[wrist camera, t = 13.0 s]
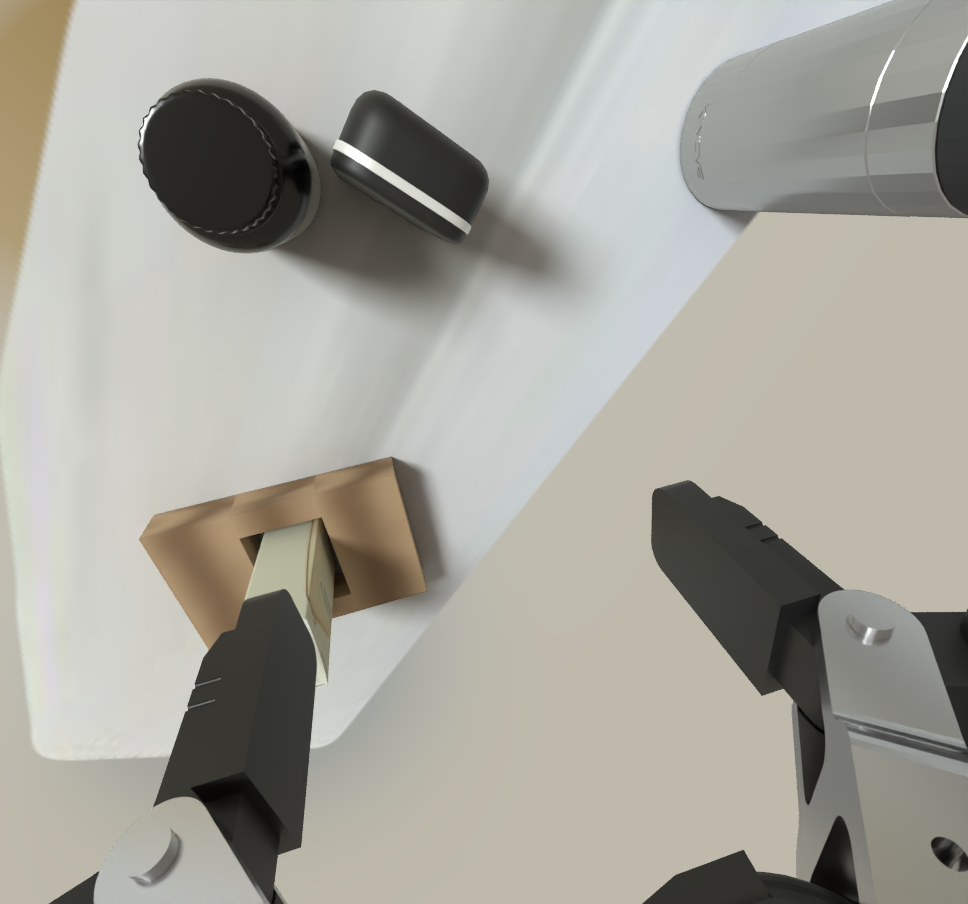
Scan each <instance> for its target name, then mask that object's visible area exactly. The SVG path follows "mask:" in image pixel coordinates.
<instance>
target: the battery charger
mask: <svg viewBox="0 0 968 904" xmlns="http://www.w3.org/2000/svg"><path fill="white" fill-rule="evenodd" d="M332 151H333V155H332V158H331V166H332V168H333V170H334V171H335V172H336V173H337V175H338V177H340V178H341V179H342V180H344V181H345V182H347V183H349V184H350V185H352V186H353V187H355V188H357V189H358V190H360V191H361V192H363V193H365V194H366V195H368V196H369V197H371V198H373V199H374V200H376V201H378V202H379V203H381V204H382V205H384V206H386V207H387V208H389V209H390V210H392V211H394V212H395V213H397V214H398V215H400V216H402V217H403V218H405V219H406V220H408V221H410V222H411V223H413V224H414V225H416V226H418V227H419V228H421V229H423V230H424V231H426V232H428V233H431V234H433V235H435V236H437V237H439V238H441V239H443V240H446V241H448V242H450V243H453V244H460V243H461V242H462V241H463V239H464V237H465V235H468V233H469V232H470V230H471V228H472V227H471V224H472V222H473V220H474V218H475V216H476V214H477V212H478V210H479V208H480V206H481V204H482V202H483V200H484V198H485V196H486V193H487V191H488V185H489V178H488V174H487V171H486V169H485V168H484V166H483V165H482V163H481V162H480V161H479V160H478V159H476V158H475V157H474V156H473V155H471V154H470V153H468V152H467V151H466V150H464V149H463V148H462V147H460V146H459V145H458V144H456V143H455V142H453V141H452V140H451V139H449V138H448V137H447V136H445V135H444V134H443V133H441V132H440V131H438V130H437V129H436V128H434V127H433V126H432V125H430V124H429V123H427V122H426V121H425V120H423V119H422V118H421V117H419V116H418V115H416V114H415V113H414V112H412V111H411V110H410V109H408V108H407V107H405V106H404V105H403V104H401V103H400V102H399V101H397V100H396V99H394V98H393V97H391V96H390V95H388V94H386V93H384V92H380V91H376V90H372V91H368V92H365V93H363V94H362V95H361V96H360V97H359V98H357V100H356V102H355V103H354V105H353V107H352V109H351V111H350V113H349V116H348V118H347V121H346V123H345V126H344V128H343V130H342V133H341V135H340V138H339V140H338V139H337V140H336V141H335V144H334V146H333V149H332Z"/></svg>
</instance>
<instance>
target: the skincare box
mask: <svg viewBox="0 0 968 904" xmlns="http://www.w3.org/2000/svg"><path fill="white" fill-rule="evenodd" d="M334 580H335V564H334V560H333V556H332V552H331V548H330V544H329V540H328V536H327V533H326V529H325V525H324V522H323V519H322V517H321V518H317V519H313V520H309V521H306V522H302V523H298V524H294V525H290V526H286V527H282V528H278V529H275V530H271V531H267V532H264V536H263V539H262V542H261V546H260V549H259V552H258V556H257V559H256V562H255V566H254V569H253V573H252V576H251V579H250V583H249V586H248V589H247V593H246V596H245V600H246V599H248V598H252V597H255V596H259V595H263V594H266V593H270V592H274V591H277V590H281V589H286V590H287V591H288V592H289V593H290V595H291V597H292V599H293V601H294V603H295V605H296V607H297V609H298V611H299V613H300V615H301V617H302V619H303V621H304V623H305V625H306V627H307V629H308V631H309V633H310V635H311V637H312V640H313V643H314V646H315V651H316V658H317V674H316V685H315V688H318V687H322V686H326V685H327V684H328V666H329V651H330V636H331V621H332V607H333V594H334ZM245 600H244V601H245Z"/></svg>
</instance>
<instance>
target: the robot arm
mask: <svg viewBox="0 0 968 904" xmlns="http://www.w3.org/2000/svg"><path fill="white" fill-rule="evenodd" d="M680 160H681V167H682V171H683V176H684V179H685V181H686V183H687V185H688V188H689V190H690V191H691V192H692V193H693V195H694V196H695V197H696V199H698V200H699V201H700V202H702V203H703V204H704V205H706V206H708V207H711V208H714V209H718V210H739V211H759V212H787V213H818V214H819V213H820V214H848V215H849V214H850V215H877V216H907V217H909V216H918V217H950V218H968V0H893V1H890V2H887V3H884V4H882V5H879V6H876V7H873V8H871V9H868V10H865V11H862V12H860V13H857V14H854V15H851V16H849V17H846V18H843V19H840V20H837V21H835V22H832V23H829V24H826V25H824V26H821V27H818V28H815V29H813V30H810V31H807V32H804V33H802V34H799V35H796V36H793V37H791V38H787V39H784V40H782V41H779V42H776V43H773V44H771V45H768V46H765V47H762V48H760V49H757V50H754V51H751V52H749V53H746V54H743V55H741V56H738V57H736V58H734V59H731V60H729V61H727V62H726V63H724V64H723V65H722V66H720V67H719V68H717V69H716V70H715V71H714V72H713V73H712V74H711V75H710V76H709V77H708V78H707V79H706V81H705V82H704V83H703V84H702V86H701V87H700V89H699V90H698V92H697V93H696V95H695V96H694V98H693V101H692V103H691V105H690V107H689V110H688V112H687V114H686V118H685V121H684V125H683V129H682V135H681V143H680ZM651 537H652V538H651V543H652V549H653V553H654V556H655V558H656V561H657V563H658V565H659V567H660V568H661V570H662V571H663V572H664V573H665V575H666V576H667V577H668V578H669V580H670V581H671V582H672V584H673V585H674V586H675V587H676V589H677V590H678V591H679V592H680V594H681V595H682V596H683V597H684V599H685V600H686V601H687V602H688V604H689V605H690V606H691V607H692V609H693V610H694V611H695V612H696V613H697V615H698V616H699V617H700V619H701V620H702V621H703V622H704V624H705V625H706V626H707V627H708V629H709V630H710V631H711V632H712V634H713V635H714V636H715V637H716V639H717V640H718V641H719V642H720V644H721V645H722V646H723V648H724V649H725V650H726V651H727V653H728V654H729V655H730V656H731V658H732V659H733V660H734V661H735V663H736V664H737V665H738V666H739V668H740V669H741V670H742V671H743V672H744V674H745V675H746V676H747V678H748V679H749V680H750V681H751V683H752V684H753V685H754V686H755V687H756V689H757V690H758V691H759V693H760V694H761V695H766V694H769V693H772V692H774V691H777V690H781V689H785V691H786V692H787V693H788V694H789V696H790V697H791V698H792V699H793V704H792V723H793V737H794V750H795V764H796V777H797V790H798V804H799V829H798V838H797V852H796V875H797V878H793V877H790V876H786V875H781V874H774V873H766V872H756V871H755V869H754V867H753V865H752V864H751V862H750V860H749V859H748V857H747V855H746V853H745V851H744V850H742V851H739V852H736V853H734V854H731V855H728V856H726V857H723V858H720V859H718V860H715V861H712V862H710V863H707V864H704V865H702V866H699V867H696V868H693V869H691V870H688V871H685V872H683V873H680V874H677V875H675V876H674V877H673V878H671V879H670V880H669V881H668V882H667V883H666V884H665V885H663V886H662V887H661V888H660V889H659V890H658V891H656V892H655V893H654V894H653V895H652V896H651V897H650V898H648V899H647V900H646V901H645V902H644V903H643V904H968V609H967V612H916V613H915V612H909V611H908V610H907V609H905V608H904V607H902V606H900V605H899V604H897V603H895V602H893V601H892V600H890V599H887V598H885V597H883V596H880V595H876V594H873V593H870V592H865V591H859V590H844V589H843V588H841V587H840V586H839V585H838V584H836V583H835V582H834V581H833V580H832V579H830V578H829V577H828V576H827V575H826V574H824V573H823V572H822V571H821V570H819V569H818V568H817V567H816V566H814V565H813V564H812V563H811V562H810V561H809V560H807V559H806V558H805V557H804V556H802V555H801V554H800V553H799V552H797V551H796V550H795V549H794V548H793V547H792V546H790V545H789V544H788V543H787V542H785V541H784V540H783V539H779V538H778V535H777V534H775V533H774V532H773V531H772V530H771V529H770V528H768V527H767V526H766V525H765V526H763V524H762V522H761V521H760V520H759V519H758V518H756V517H755V516H754V515H753V514H751V513H750V512H749V511H748V510H747V509H745V508H744V507H743V506H740V505H738V504H736V503H733V502H731V501H729V500H727V499H724V498H722V497H720V496H718V497H714V498H711V497H710V496H709V495H708V494H706V493H705V492H704V491H703V490H702V489H701V488H700V487H698V486H697V485H696V484H695V483H693V482H691V481H688V480H687V481H683V482H679V483H676V484H672V485H668V486H665V487H661V488H657V489H655V490H654V492H653V496H652V535H651ZM316 674H317V658H316V651H315V646H314V643H313V640H312V637H311V635H310V633H309V631H308V629H307V627H306V625H305V623H304V621H303V619H302V617H301V615H300V613H299V611H298V609H297V607H296V605H295V603H294V601H293V599H292V597H291V595H290V593H289V592H288V591H287V590H286V589H281V590H277V591H274V592H270V593H266V594H263V595H259V596H255V597H252V598H248V599H246V600H245V601H244V602H243V604H242V607H241V610H240V614H239V618H238V621H237V625H236V628H235V629H234V630H231V631H227V632H223V633H221V635H220V636H219V637H218V639H217V640H216V641H215V643H214V644H213V646H212V647H211V648H210V650H209V651H208V652H207V654H206V655H205V657H204V658H203V661H202V664H201V667H200V670H199V673H198V676H197V679H196V682H195V689H193V691H192V694H191V697H190V700H189V703H188V711H186V712H185V715H184V718H183V721H182V723H181V726H180V729H179V732H178V735H177V738H176V741H175V744H174V747H173V750H172V753H171V756H170V759H169V762H168V766H167V769H166V771H165V774H164V777H163V781H162V783H161V786H160V790H159V793H158V795H157V798H156V801H155V803H154V806H153V808H152V809H150V810H149V811H147V812H146V813H144V814H143V815H142V816H141V817H139V818H138V819H137V820H136V821H135V822H134V823H133V824H132V825H131V826H130V827H129V828H128V829H127V830H126V831H125V832H124V833H123V834H122V836H121V837H120V838H119V839H118V840H117V842H116V843H115V844H114V846H113V847H112V849H111V850H110V852H109V854H108V855H107V857H106V859H105V861H104V863H103V865H102V867H101V869H100V871H99V872H97V873H96V874H94V875H93V876H91V877H90V878H88V879H87V880H85V881H84V882H82V883H81V884H79V885H77V886H76V887H74V888H73V889H72V890H70V891H68V892H66V893H65V894H63V895H62V896H60V897H59V898H57V899H55V900H54V901H52V902H51V903H50V904H287V903H286V901H285V900H284V898H283V897H282V895H281V893H280V892H279V890H278V889H277V887H276V886H275V885H274V881H275V873H276V864H277V857H278V855H279V854H282V853H285V852H288V851H291V850H294V849H297V848H300V847H301V842H302V831H303V820H304V808H305V797H306V786H307V775H308V764H309V752H310V741H311V730H312V719H313V707H314V696H315V685H316Z"/></svg>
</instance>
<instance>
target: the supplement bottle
mask: <svg viewBox="0 0 968 904" xmlns="http://www.w3.org/2000/svg"><path fill="white" fill-rule="evenodd" d="M139 135H140V140H139V142H138V148H139V150H140V155H139V160H140V162H141V163H142V165H143V174H144V175H145V176H146V178H147V179H148V181H149V185H150V188H151V189H152V190H153V191H154V192H155V194H156V196H157V198H158V199H159V201H160V202H161V204H162V205H163V207H164V208H165V209H166V211H167V212H168V213H169V214H170V216H171V217H172V218H173V219H174V220H175V221H176V222H177V223H178V224H179V225H180V226H181V227H182V228H184V229H185V230H186V231H187V232H188V233H190V234H191V235H193V236H194V237H196V238H197V239H199V240H201V241H202V242H204V243H206V244H208V245H210V246H213V247H216V248H218V249H221V250H225V251H229V252H235V253H258V252H263V251H267V250H270V249H273V248H275V247H277V246H279V245H282V244H283V243H285V242H287V241H289V240H291V239H293V238H295V237H297V236H298V235H299V234H301V233H302V232H303V231H304V230H305V229H306V228H307V227H308V226H309V225H310V224H311V222H312V221H313V219H314V217H315V215H316V213H317V210H318V207H319V203H320V196H321V184H320V177H319V172H318V168H317V165H316V163H315V160H314V158H313V156H312V154H311V152H310V150H309V149H308V147H307V145H306V144H305V142H304V141H303V140H302V138H301V137H300V136H299V134H298V133H297V132H296V130H295V129H294V128H293V126H292V125H291V124H290V123H289V121H288V120H287V119H286V118H285V117H284V115H283V114H282V113H281V112H280V111H279V110H278V109H277V108H276V107H274V106H273V105H272V104H271V103H270V102H269V101H267V100H266V99H265V98H263V97H262V96H260V95H259V94H257V93H256V92H254V91H252V90H250V89H248V88H246V87H244V86H242V85H239V84H237V83H234V82H230V81H227V80H221V79H213V78H203V79H195V80H191V81H187V82H184V83H182V84H179V85H177V86H175V87H174V88H172V89H170V90H169V91H168V92H166V93H165V94H164V95H163V96H162V97H161V98H160V99H159V100H158V101H157V103H156V104H155V105H154V106H152V107H150V110H149V114H148V115H146V116H145V117H144V118H143V126H142V127H141V128H140V130H139Z"/></svg>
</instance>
